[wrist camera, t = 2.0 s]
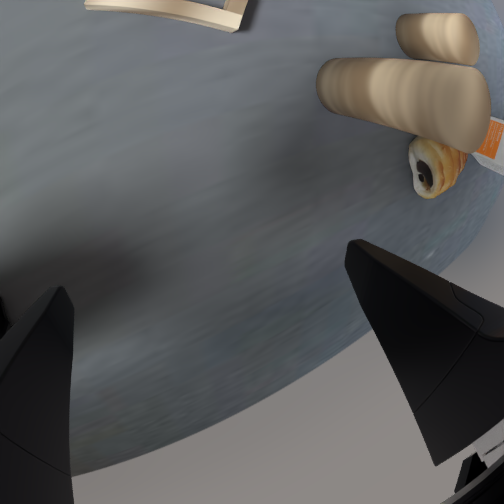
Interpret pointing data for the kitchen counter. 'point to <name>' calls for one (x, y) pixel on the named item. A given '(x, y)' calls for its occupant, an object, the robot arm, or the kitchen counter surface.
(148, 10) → the birch collar
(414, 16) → the short beech pin
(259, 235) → the kitchen counter surface
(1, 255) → the kitchen counter surface
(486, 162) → the skincare box
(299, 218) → the kitchen counter surface
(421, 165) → the pastry
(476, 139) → the tall beech pin
